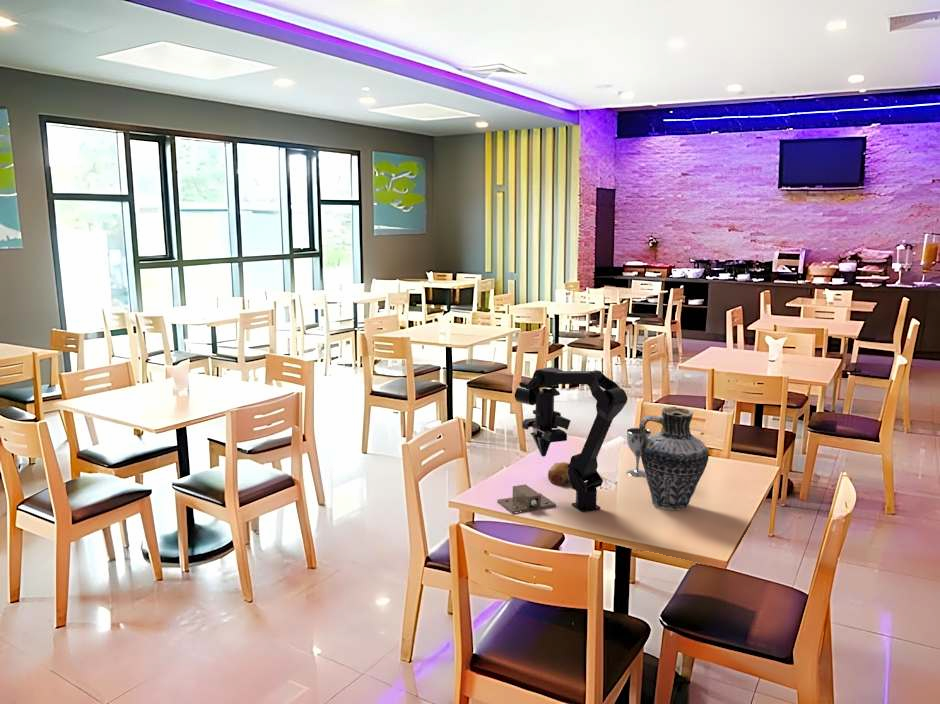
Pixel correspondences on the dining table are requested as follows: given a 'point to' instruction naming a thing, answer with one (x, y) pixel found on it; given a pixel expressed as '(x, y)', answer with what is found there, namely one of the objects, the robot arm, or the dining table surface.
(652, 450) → the jug
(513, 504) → the hinge
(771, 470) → the dining table surface
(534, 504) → the pin
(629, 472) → the wine glass
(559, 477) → the bread roll
